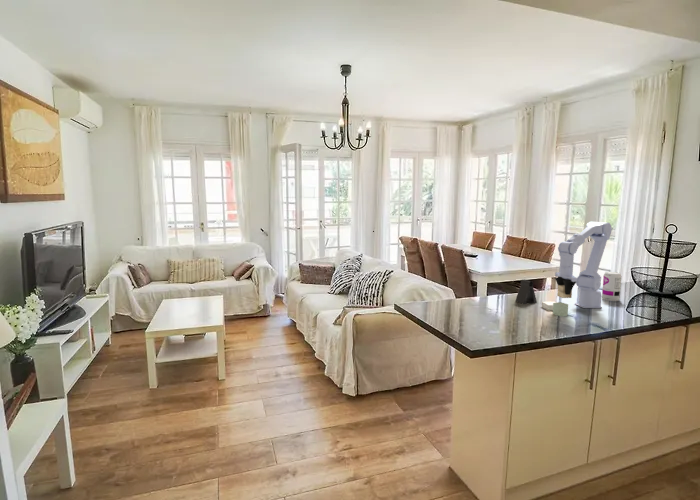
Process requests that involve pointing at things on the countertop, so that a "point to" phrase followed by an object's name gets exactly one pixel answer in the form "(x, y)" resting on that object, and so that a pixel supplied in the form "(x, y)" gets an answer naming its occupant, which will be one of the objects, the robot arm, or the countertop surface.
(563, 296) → the beech block
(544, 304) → the pedestal block
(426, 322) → the countertop surface
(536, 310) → the countertop surface
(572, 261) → the robot arm
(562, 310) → the sage block
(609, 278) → the supplement can
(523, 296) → the door stopper
